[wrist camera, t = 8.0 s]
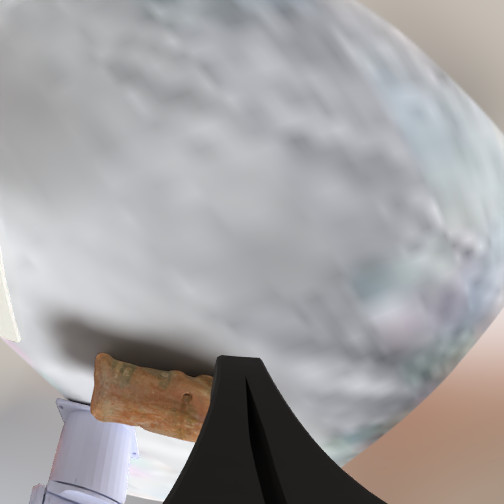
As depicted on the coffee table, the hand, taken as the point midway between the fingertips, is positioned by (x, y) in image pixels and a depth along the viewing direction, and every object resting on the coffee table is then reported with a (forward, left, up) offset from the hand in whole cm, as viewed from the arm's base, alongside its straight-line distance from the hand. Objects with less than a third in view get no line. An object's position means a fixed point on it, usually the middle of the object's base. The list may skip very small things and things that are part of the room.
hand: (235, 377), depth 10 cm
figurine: (-11, +8, -5) cm, 14 cm away
